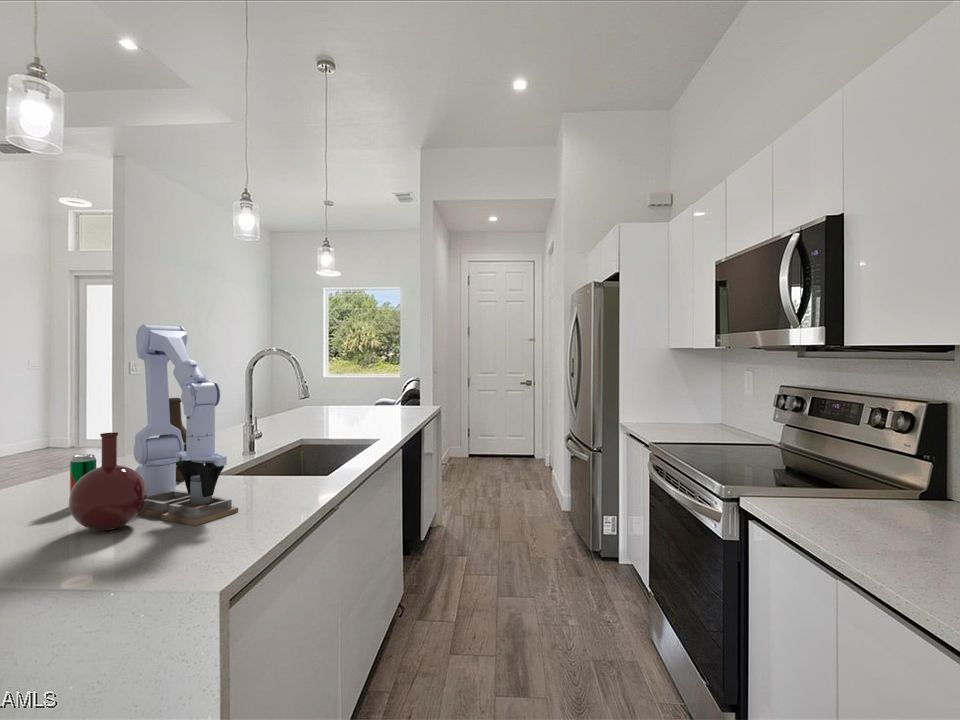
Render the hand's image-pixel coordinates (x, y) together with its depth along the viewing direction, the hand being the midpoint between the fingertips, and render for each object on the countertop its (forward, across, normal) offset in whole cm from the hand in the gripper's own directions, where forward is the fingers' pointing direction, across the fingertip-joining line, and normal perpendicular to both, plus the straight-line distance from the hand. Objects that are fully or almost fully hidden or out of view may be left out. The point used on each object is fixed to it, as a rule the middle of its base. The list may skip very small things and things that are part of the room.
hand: (200, 494), depth 115 cm
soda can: (+5, -32, -7) cm, 34 cm away
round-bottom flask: (+5, -9, -14) cm, 18 cm away
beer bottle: (+5, -38, +19) cm, 42 cm away
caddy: (+5, -6, 0) cm, 7 cm away
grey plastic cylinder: (+2, 0, 0) cm, 2 cm away
